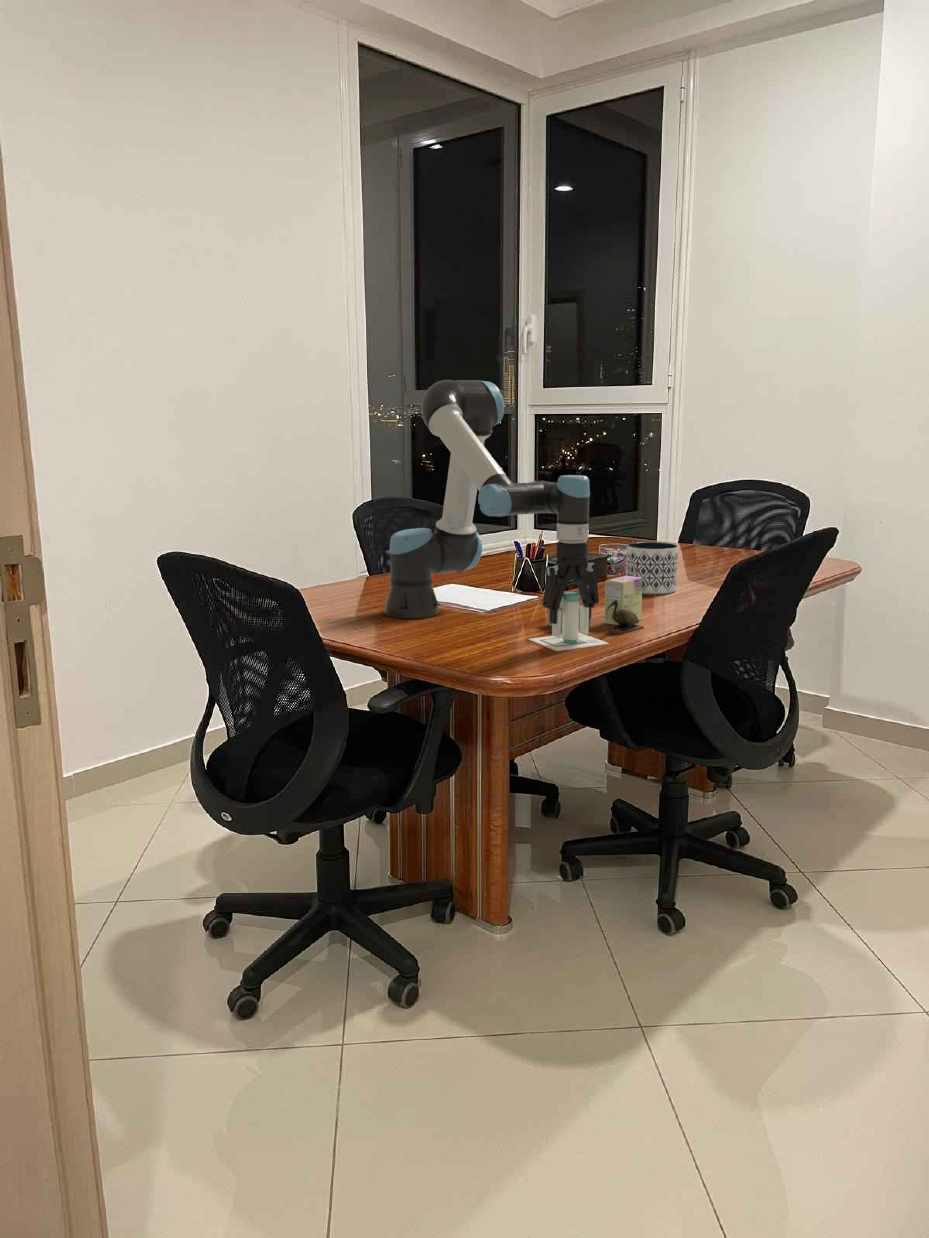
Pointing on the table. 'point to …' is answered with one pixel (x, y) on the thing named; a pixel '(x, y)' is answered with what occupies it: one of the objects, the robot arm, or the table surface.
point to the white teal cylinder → (570, 617)
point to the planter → (653, 566)
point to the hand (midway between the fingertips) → (570, 634)
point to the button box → (562, 616)
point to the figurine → (624, 620)
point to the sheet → (559, 645)
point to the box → (623, 596)
